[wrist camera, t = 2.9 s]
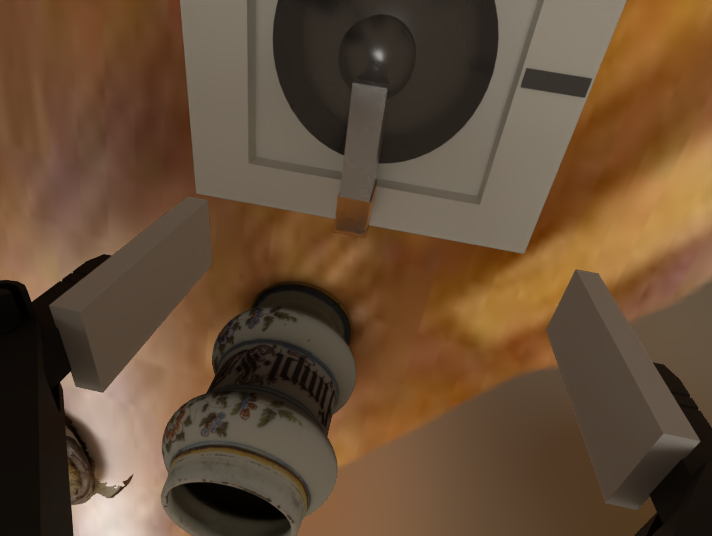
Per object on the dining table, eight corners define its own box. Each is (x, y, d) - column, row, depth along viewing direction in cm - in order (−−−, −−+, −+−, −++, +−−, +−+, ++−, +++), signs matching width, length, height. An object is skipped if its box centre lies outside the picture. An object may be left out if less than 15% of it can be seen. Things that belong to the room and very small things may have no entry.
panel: (187, -230, 22) (156, -259, 19) (672, -167, 20) (705, -189, 18) (211, 180, 34) (195, 194, 31) (517, 235, 32) (524, 255, 30)
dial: (282, -104, 23) (243, -130, 18) (528, -68, 22) (555, -86, 17) (274, 183, 31) (247, 216, 27) (450, 215, 31) (453, 254, 26)
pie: (-90, 410, 60) (-129, 441, 56) (-24, 319, 48) (-67, 349, 44) (83, 509, 69) (61, 542, 65) (175, 453, 57) (155, 489, 53)
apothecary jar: (305, 387, 45) (242, 584, 30) (215, 315, 41) (92, 497, 26) (391, 334, 39) (368, 543, 24) (296, 245, 36) (199, 426, 21)
